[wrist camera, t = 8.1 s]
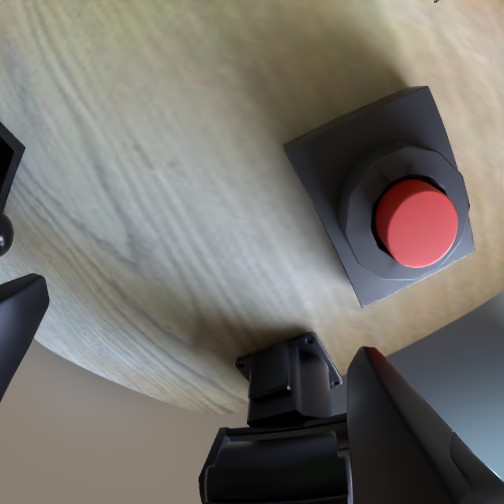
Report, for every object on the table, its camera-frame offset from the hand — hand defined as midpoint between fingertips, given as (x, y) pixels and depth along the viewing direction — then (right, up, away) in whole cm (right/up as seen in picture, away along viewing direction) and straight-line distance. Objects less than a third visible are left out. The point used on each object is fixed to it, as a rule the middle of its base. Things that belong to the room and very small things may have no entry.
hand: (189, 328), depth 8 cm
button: (+9, +4, +5) cm, 11 cm away
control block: (+9, +5, +9) cm, 14 cm away
